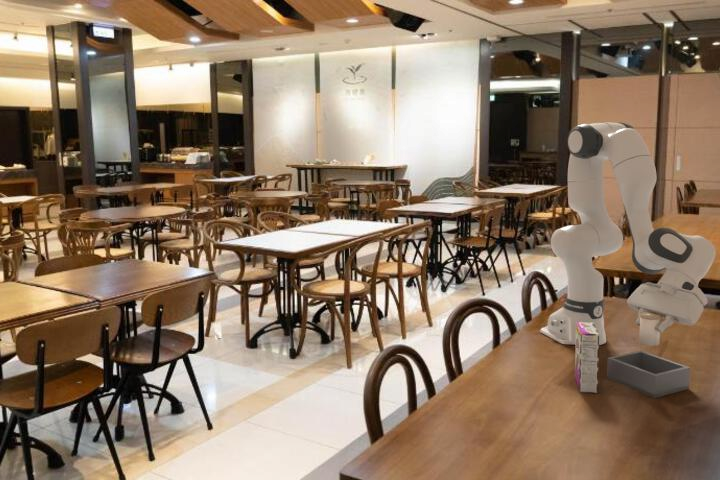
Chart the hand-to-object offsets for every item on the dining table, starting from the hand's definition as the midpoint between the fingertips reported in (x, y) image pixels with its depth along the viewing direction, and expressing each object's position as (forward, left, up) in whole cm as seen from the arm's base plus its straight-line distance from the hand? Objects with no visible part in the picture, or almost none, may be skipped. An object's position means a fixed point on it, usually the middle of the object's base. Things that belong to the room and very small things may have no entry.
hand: (648, 327), depth 176 cm
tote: (0, +1, -16) cm, 16 cm away
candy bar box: (-7, -15, -16) cm, 23 cm away
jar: (0, +1, -4) cm, 4 cm away
